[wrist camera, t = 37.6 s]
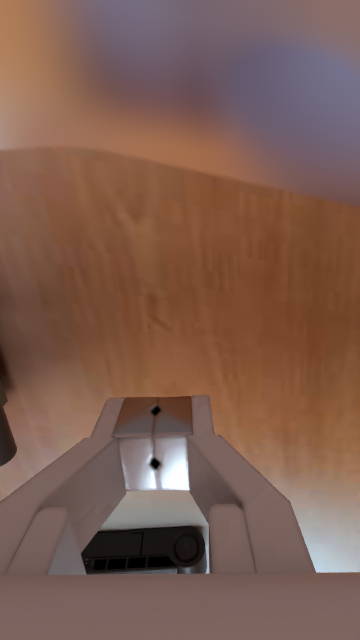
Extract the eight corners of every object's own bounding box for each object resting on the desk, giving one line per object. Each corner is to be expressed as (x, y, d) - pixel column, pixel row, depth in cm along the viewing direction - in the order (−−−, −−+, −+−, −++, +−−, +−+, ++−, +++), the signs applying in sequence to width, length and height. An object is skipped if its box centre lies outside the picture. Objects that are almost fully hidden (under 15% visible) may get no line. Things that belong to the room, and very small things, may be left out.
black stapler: (203, 524, 23) (206, 567, 20) (205, 544, 24) (208, 587, 21) (-2, 535, 24) (-26, 577, 21) (7, 554, 25) (-15, 597, 22)
